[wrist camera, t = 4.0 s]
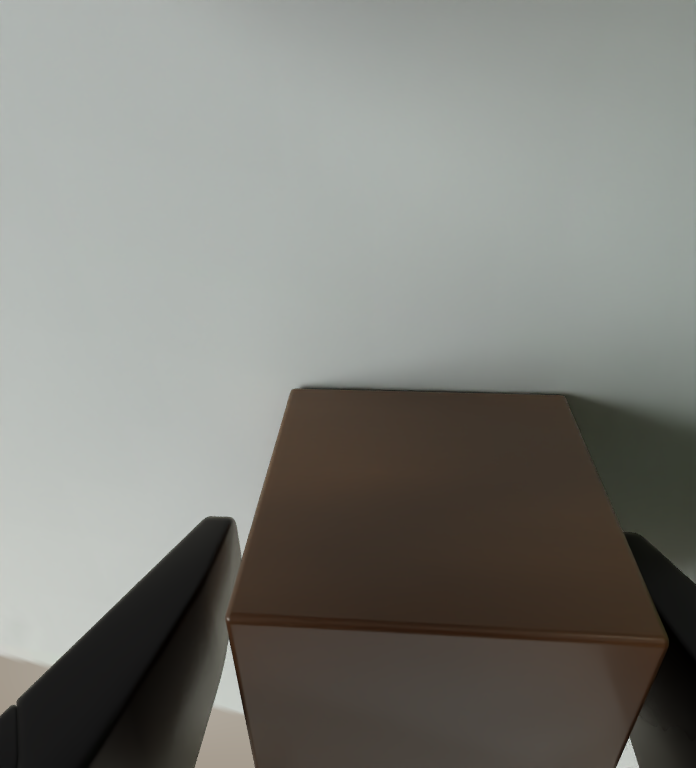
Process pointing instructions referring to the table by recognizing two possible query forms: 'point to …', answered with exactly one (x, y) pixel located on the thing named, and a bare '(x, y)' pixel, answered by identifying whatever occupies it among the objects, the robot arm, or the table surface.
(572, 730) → the block
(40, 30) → the table surface
